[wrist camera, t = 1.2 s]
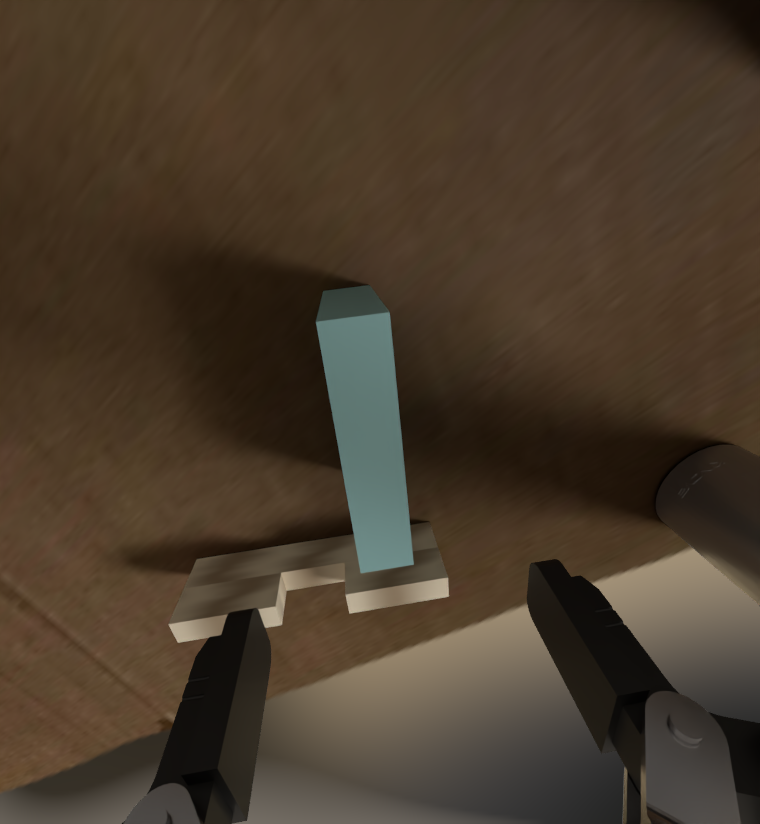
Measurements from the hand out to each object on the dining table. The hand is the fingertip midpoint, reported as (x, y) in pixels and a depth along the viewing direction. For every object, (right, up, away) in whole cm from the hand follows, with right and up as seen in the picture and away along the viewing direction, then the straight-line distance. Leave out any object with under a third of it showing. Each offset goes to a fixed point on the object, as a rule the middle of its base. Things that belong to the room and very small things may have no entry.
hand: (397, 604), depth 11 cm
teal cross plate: (-2, +7, +16) cm, 18 cm away
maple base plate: (-6, -6, +22) cm, 23 cm away
